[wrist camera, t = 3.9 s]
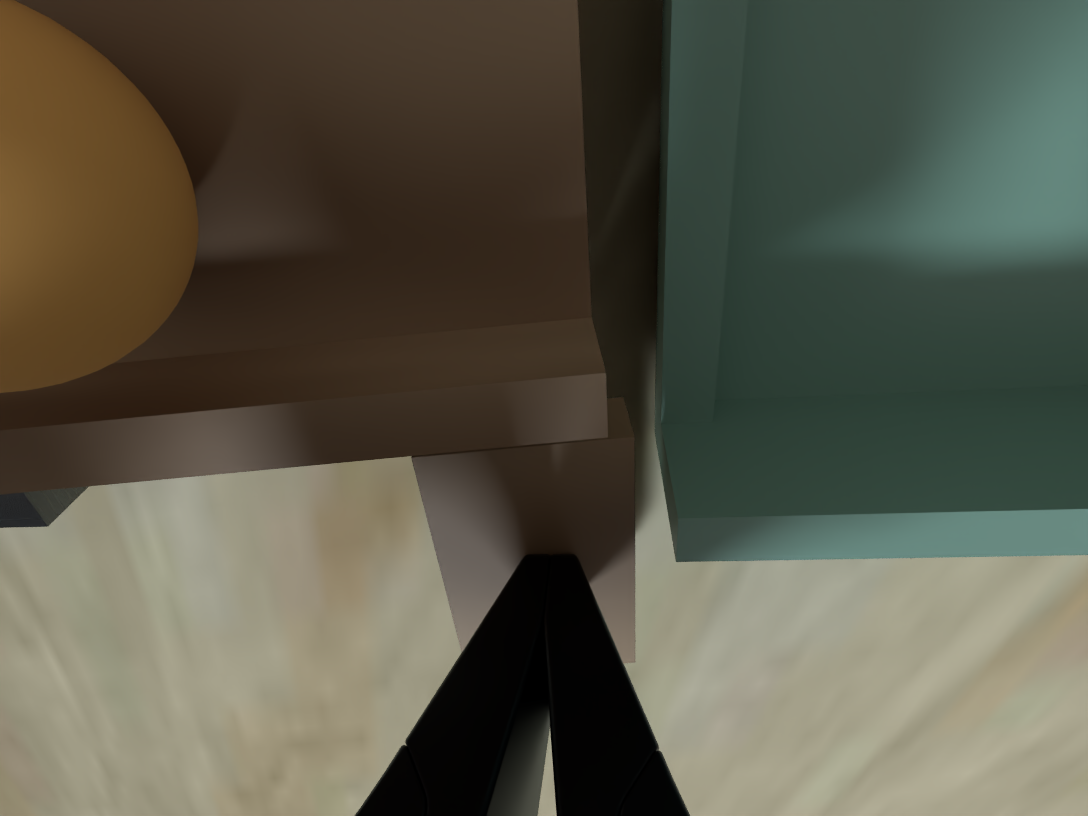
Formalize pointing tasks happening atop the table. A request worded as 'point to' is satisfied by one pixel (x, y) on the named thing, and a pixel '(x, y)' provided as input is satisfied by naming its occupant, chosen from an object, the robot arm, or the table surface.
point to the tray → (873, 278)
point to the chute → (369, 278)
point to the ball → (82, 208)
